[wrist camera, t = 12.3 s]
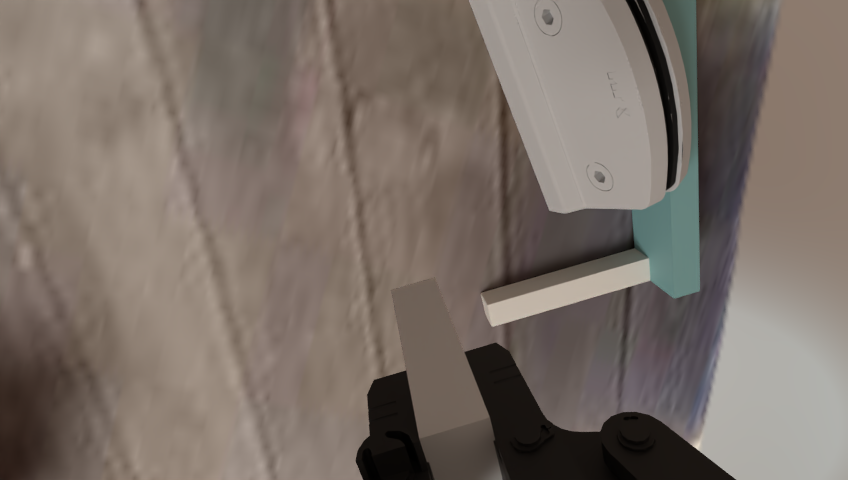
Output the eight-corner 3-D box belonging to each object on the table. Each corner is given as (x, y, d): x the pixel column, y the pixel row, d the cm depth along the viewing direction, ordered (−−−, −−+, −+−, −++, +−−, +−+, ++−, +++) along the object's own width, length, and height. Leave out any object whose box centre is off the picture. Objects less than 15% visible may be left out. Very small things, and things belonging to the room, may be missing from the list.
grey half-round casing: (465, -9, 30) (581, -67, 22) (520, -38, 32) (651, -104, 23) (550, 215, 37) (666, 240, 28) (593, 183, 38) (717, 197, 29)
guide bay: (405, -47, 29) (417, -65, 25) (640, -106, 30) (694, -134, 25) (485, 313, 39) (503, 349, 35) (659, 263, 40) (699, 291, 35)
